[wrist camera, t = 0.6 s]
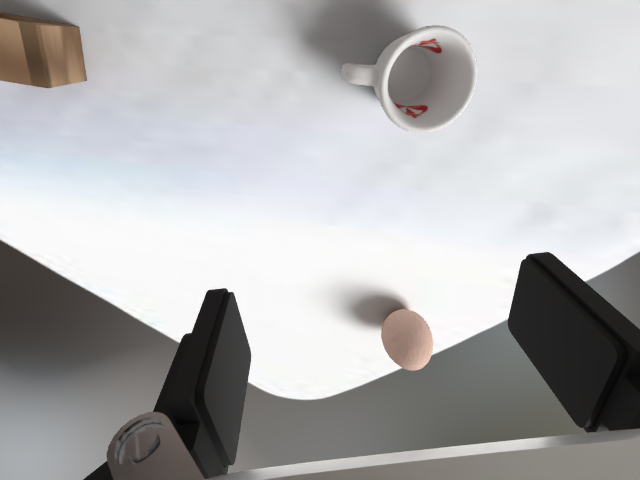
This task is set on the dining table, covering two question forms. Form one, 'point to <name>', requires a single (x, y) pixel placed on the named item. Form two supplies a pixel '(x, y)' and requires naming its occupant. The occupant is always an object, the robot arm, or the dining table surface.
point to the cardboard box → (40, 52)
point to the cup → (421, 78)
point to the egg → (407, 339)
